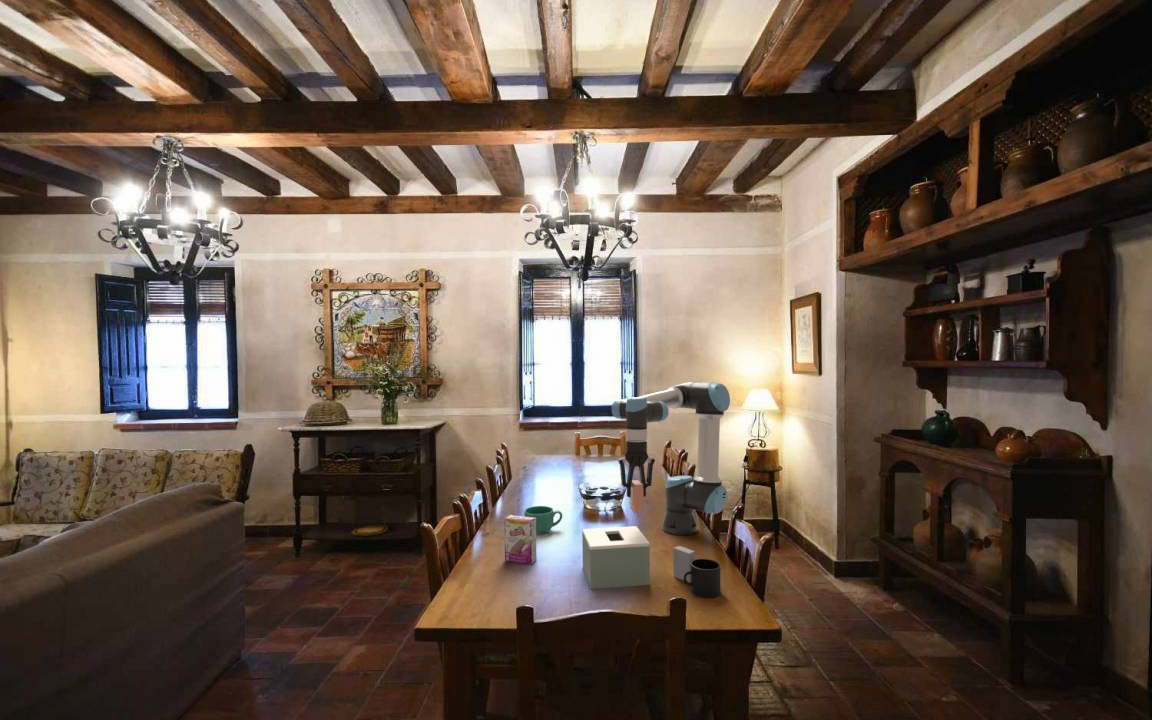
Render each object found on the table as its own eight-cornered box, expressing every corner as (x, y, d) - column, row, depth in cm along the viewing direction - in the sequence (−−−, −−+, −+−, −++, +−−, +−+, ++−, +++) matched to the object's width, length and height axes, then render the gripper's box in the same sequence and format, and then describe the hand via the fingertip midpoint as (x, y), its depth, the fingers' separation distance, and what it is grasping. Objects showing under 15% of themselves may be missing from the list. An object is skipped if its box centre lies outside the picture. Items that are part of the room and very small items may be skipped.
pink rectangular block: (637, 507, 199) (638, 480, 199) (642, 512, 192) (643, 484, 192) (629, 507, 198) (630, 480, 198) (634, 513, 191) (634, 484, 191)
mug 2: (679, 587, 179) (678, 559, 179) (714, 584, 181) (714, 557, 181) (688, 599, 170) (688, 571, 170) (725, 597, 171) (724, 568, 171)
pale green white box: (636, 564, 199) (636, 526, 199) (649, 584, 181) (649, 543, 181) (582, 567, 196) (582, 529, 196) (590, 589, 179) (590, 546, 178)
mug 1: (523, 536, 231) (522, 514, 231) (526, 526, 244) (526, 505, 244) (561, 536, 231) (561, 513, 231) (563, 526, 244) (562, 505, 244)
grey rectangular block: (679, 574, 190) (679, 545, 190) (695, 580, 184) (695, 551, 184) (673, 576, 188) (673, 547, 188) (689, 583, 182) (689, 553, 182)
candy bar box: (504, 562, 203) (503, 518, 203) (510, 557, 208) (509, 514, 207) (531, 565, 199) (531, 520, 199) (537, 560, 204) (536, 517, 204)
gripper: (655, 438, 200) (655, 502, 200) (612, 439, 198) (612, 503, 197) (661, 441, 192) (661, 507, 192) (616, 442, 190) (616, 509, 190)
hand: (636, 505), depth 195 cm, fingers closed on pink rectangular block, 3 cm apart
